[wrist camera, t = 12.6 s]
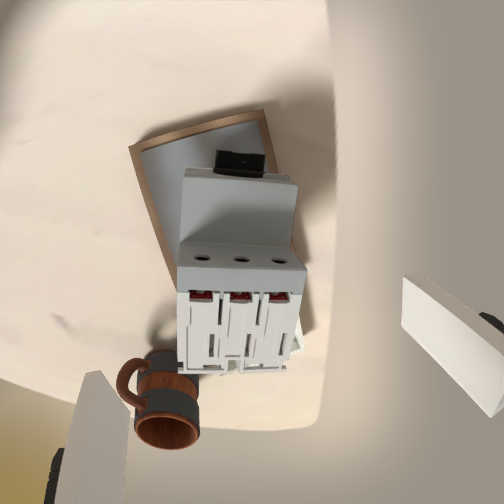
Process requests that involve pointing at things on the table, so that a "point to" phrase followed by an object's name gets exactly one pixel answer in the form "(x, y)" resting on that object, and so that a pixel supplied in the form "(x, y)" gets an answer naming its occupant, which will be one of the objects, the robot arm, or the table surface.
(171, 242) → the framed panel
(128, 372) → the mug
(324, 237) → the table surface
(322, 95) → the table surface
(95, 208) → the table surface
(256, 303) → the circuit breaker
